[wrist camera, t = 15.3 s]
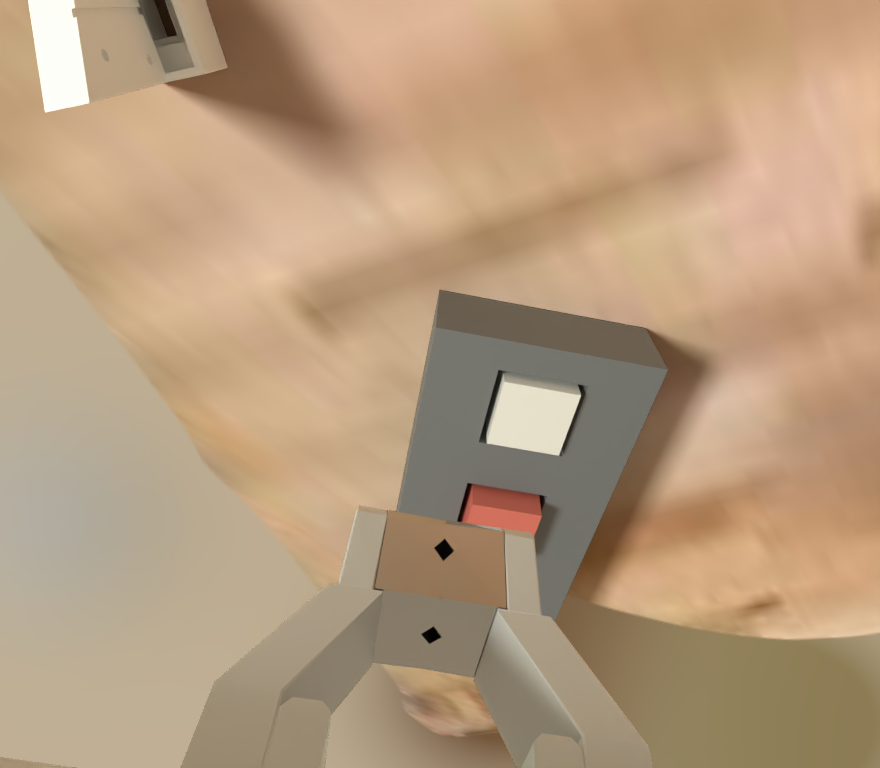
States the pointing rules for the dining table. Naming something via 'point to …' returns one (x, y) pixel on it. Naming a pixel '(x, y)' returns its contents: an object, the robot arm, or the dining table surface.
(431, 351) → the button console
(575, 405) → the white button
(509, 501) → the red button
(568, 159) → the dining table surface
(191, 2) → the white angled block
